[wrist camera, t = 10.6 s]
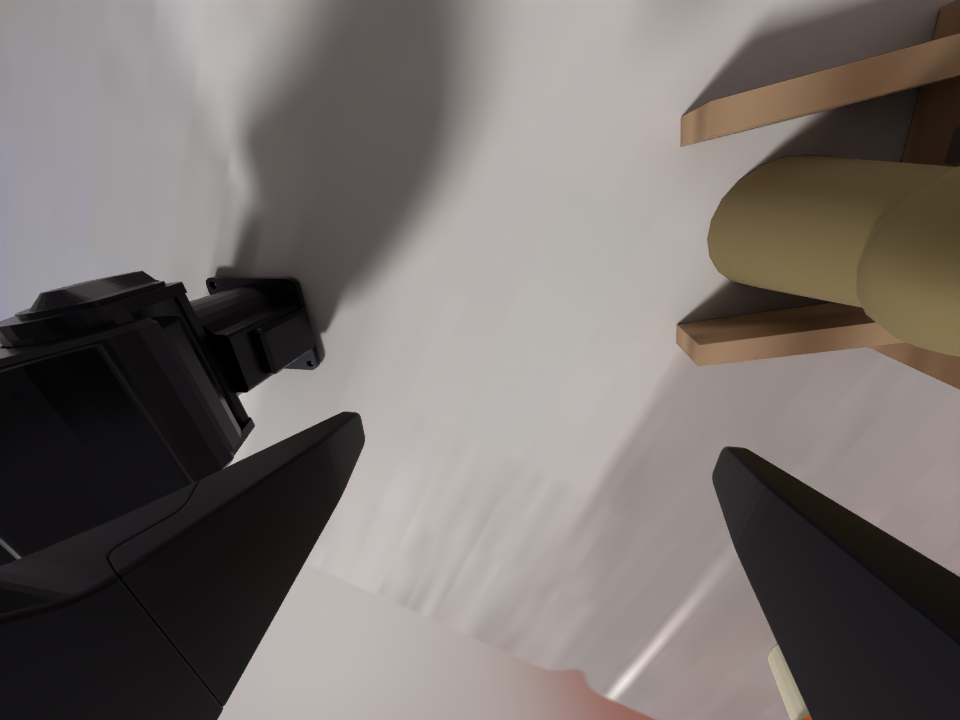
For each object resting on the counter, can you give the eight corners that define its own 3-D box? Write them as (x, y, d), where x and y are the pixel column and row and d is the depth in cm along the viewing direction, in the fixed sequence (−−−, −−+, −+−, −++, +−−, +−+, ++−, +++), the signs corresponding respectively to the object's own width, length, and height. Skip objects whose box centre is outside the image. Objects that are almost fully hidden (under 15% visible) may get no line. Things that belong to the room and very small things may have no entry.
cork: (837, 124, 15) (1423, -8, 5) (860, 247, 17) (1319, 327, 7) (691, 203, 17) (905, 219, 7) (726, 305, 19) (934, 429, 9)
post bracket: (675, 362, 21) (765, 470, 13) (681, 82, 15) (850, -47, 7) (900, 335, 18) (1189, 448, 10) (1010, -13, 12) (1861, -383, 4)
